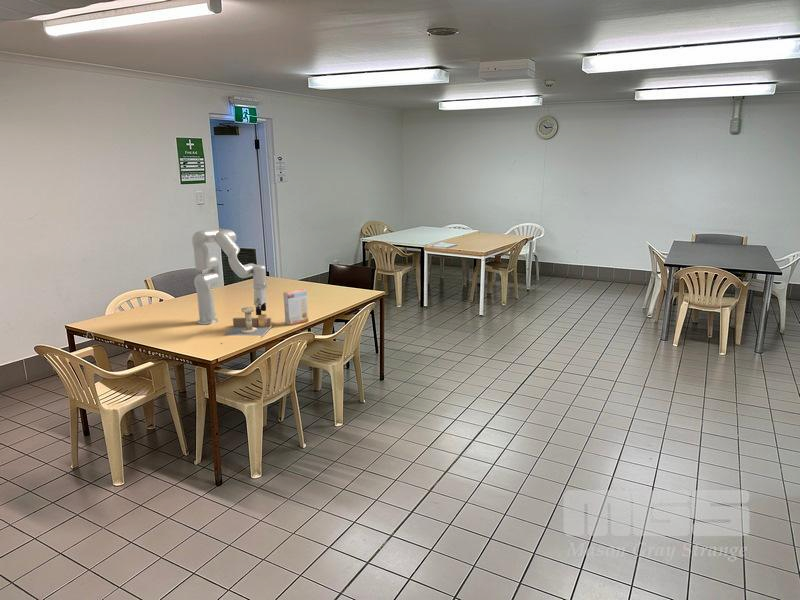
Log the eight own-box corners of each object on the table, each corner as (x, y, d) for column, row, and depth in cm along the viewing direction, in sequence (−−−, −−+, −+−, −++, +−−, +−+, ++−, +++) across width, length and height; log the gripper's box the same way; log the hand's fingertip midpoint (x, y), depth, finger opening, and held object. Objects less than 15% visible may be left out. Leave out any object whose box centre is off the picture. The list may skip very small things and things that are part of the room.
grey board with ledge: (234, 327, 335) (234, 317, 333) (271, 328, 334) (270, 317, 332) (223, 337, 316) (222, 326, 314) (262, 337, 314) (261, 327, 313)
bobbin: (244, 329, 327) (242, 306, 324) (259, 329, 326) (257, 306, 323) (239, 333, 318) (237, 310, 315) (254, 333, 318) (252, 310, 314)
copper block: (260, 325, 335) (259, 314, 333) (267, 325, 335) (266, 314, 333) (258, 327, 331) (258, 316, 329) (265, 327, 331) (264, 316, 329)
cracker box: (303, 319, 352) (302, 288, 347) (308, 321, 347) (307, 290, 342) (284, 323, 343) (282, 291, 338) (289, 325, 338) (287, 293, 333)
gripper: (258, 282, 335) (259, 309, 339) (249, 288, 318) (250, 316, 323) (270, 282, 335) (271, 309, 339) (261, 289, 318) (263, 317, 322)
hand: (261, 312), depth 331 cm, fingers open, 9 cm apart
